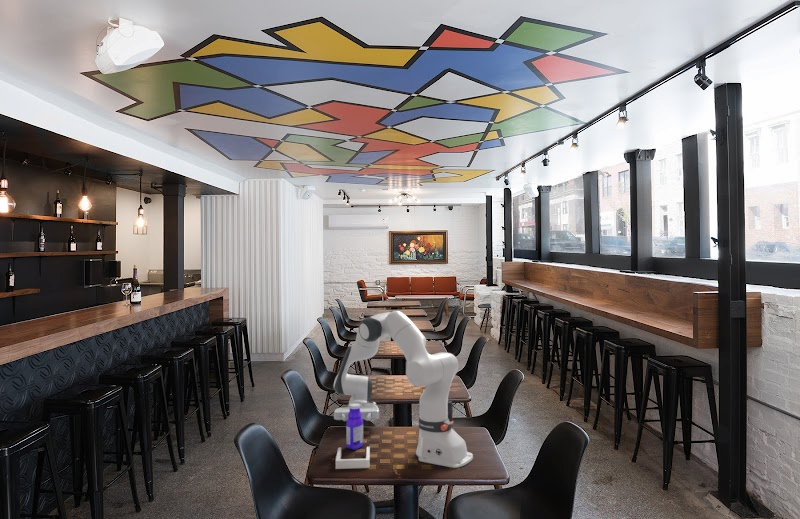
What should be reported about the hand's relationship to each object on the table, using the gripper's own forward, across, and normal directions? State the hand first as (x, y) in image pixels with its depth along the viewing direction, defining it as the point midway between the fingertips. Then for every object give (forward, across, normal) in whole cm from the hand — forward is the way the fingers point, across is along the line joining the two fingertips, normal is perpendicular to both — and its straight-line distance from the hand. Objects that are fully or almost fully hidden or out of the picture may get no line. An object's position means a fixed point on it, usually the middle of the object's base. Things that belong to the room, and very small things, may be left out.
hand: (356, 419), depth 209 cm
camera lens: (0, +38, +8) cm, 39 cm away
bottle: (+12, 0, +8) cm, 14 cm away
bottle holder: (+26, 0, +8) cm, 27 cm away
